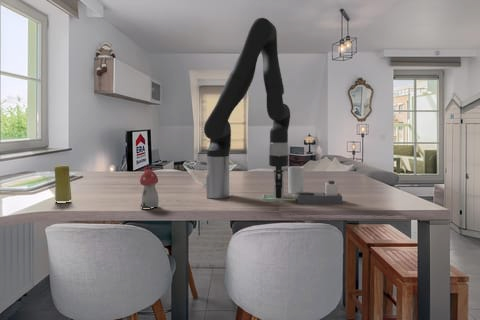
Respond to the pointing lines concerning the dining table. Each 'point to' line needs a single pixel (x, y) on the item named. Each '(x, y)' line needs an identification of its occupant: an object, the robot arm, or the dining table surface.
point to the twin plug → (331, 188)
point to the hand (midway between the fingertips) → (278, 196)
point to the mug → (295, 179)
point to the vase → (62, 183)
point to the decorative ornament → (149, 189)
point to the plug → (275, 190)
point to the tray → (270, 199)
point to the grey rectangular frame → (318, 198)
